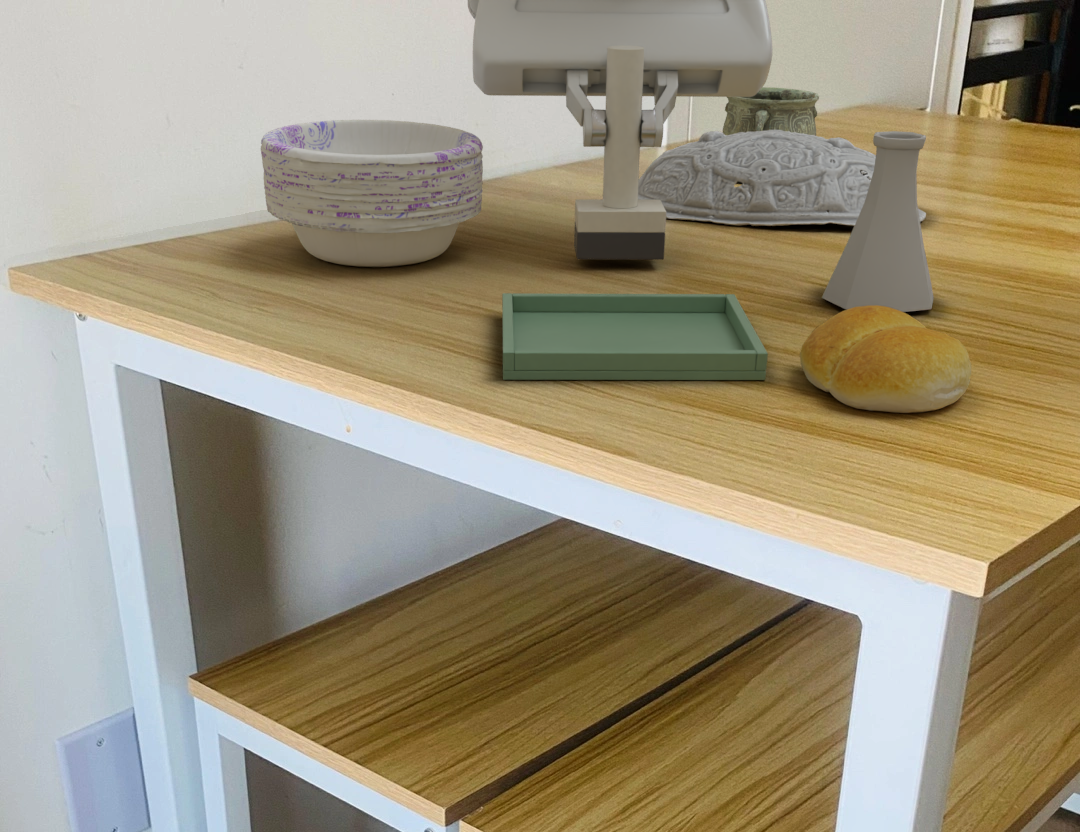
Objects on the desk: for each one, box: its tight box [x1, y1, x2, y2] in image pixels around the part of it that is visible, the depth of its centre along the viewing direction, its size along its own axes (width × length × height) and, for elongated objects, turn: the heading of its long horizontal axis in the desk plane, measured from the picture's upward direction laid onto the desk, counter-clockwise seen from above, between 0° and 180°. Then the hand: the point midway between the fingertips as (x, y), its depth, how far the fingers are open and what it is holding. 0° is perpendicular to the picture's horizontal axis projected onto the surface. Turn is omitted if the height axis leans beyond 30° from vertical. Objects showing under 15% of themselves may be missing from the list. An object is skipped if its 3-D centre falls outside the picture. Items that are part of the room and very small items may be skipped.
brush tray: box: [501, 292, 769, 381], centre depth 79 cm, size 14×12×2 cm
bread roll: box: [799, 305, 972, 414], centre depth 72 cm, size 8×9×4 cm
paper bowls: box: [260, 119, 484, 268], centre depth 96 cm, size 15×15×8 cm
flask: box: [821, 130, 934, 313], centre depth 85 cm, size 7×7×10 cm
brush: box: [573, 45, 667, 261], centre depth 92 cm, size 6×4×13 cm, turn 92°
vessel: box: [722, 86, 820, 136], centre depth 128 cm, size 12×9×6 cm
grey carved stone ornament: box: [638, 130, 927, 227], centre depth 111 cm, size 16×25×7 cm, turn 73°
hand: (623, 141), depth 91 cm, fingers closed on brush, 2 cm apart
